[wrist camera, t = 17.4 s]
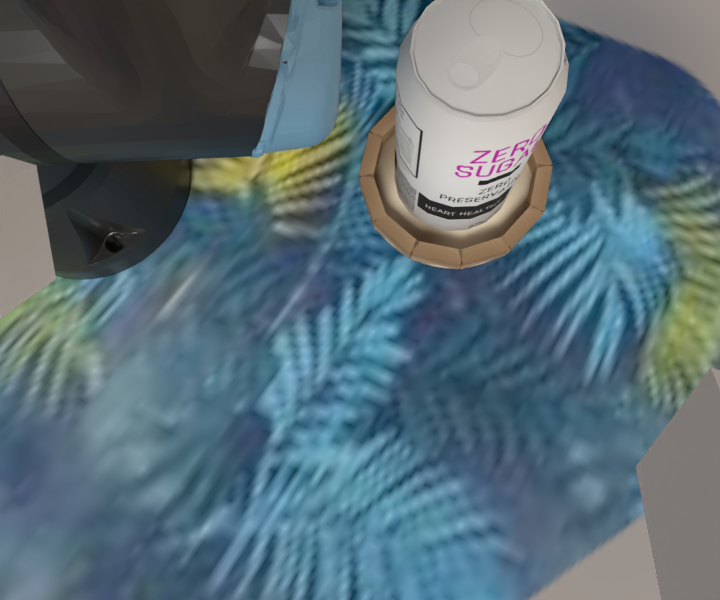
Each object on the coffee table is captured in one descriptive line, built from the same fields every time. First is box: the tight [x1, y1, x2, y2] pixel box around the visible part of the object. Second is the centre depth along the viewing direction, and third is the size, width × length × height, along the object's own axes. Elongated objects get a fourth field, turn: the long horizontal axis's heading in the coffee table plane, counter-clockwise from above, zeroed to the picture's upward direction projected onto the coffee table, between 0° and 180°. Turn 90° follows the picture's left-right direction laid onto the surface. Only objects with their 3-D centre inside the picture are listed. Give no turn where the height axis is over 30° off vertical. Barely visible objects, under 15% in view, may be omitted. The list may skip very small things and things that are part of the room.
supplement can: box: [394, 0, 569, 231], centre depth 32 cm, size 8×8×15 cm
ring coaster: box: [359, 105, 553, 269], centre depth 39 cm, size 13×13×2 cm
